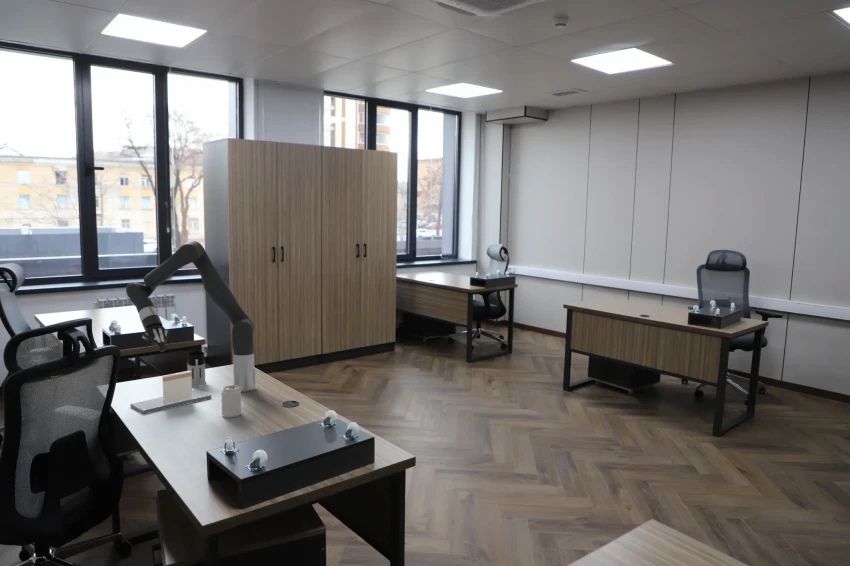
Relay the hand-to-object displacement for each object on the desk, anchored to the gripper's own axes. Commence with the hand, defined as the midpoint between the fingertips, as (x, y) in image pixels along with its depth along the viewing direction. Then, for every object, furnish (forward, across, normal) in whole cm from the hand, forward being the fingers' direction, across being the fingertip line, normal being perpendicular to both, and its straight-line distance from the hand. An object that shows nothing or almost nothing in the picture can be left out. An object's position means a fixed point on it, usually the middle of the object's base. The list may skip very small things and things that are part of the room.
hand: (163, 350), depth 260 cm
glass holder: (+9, +20, +22) cm, 31 cm away
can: (+43, +10, -12) cm, 46 cm away
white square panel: (+24, 0, +5) cm, 24 cm away
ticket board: (+20, 0, +11) cm, 23 cm away
